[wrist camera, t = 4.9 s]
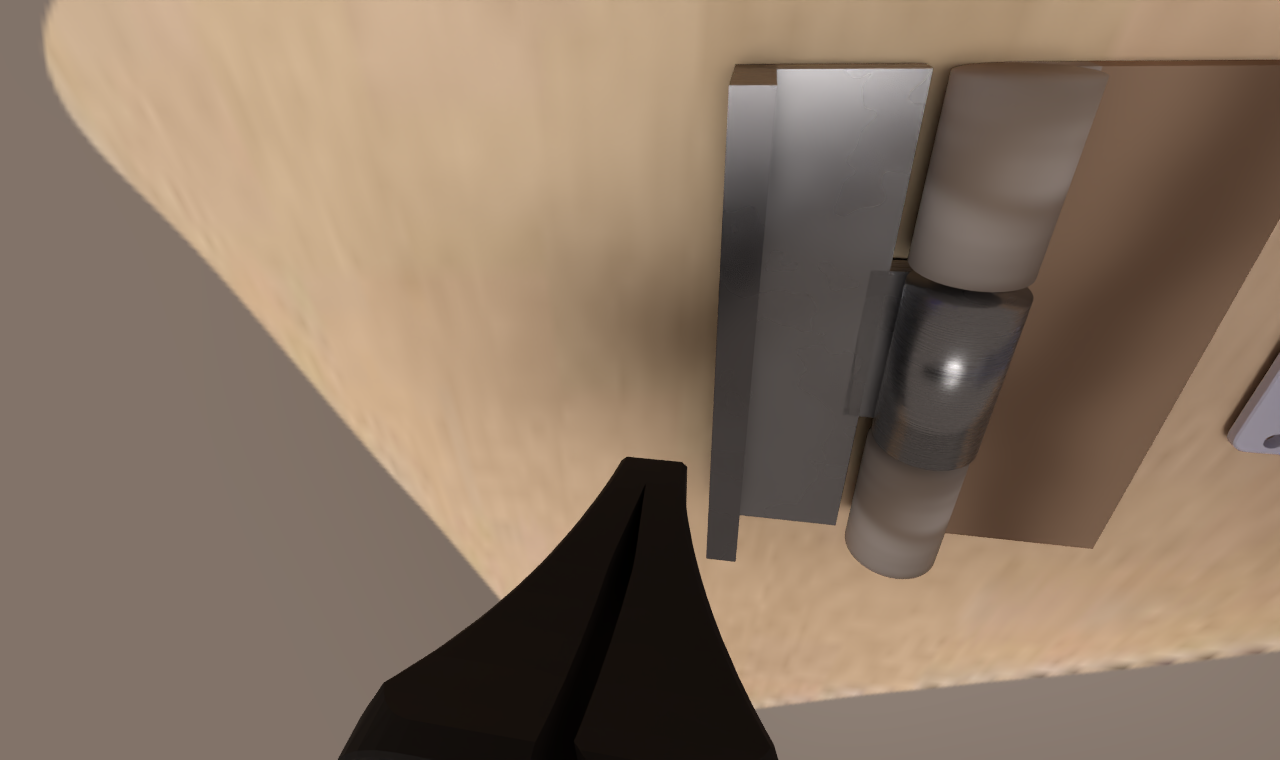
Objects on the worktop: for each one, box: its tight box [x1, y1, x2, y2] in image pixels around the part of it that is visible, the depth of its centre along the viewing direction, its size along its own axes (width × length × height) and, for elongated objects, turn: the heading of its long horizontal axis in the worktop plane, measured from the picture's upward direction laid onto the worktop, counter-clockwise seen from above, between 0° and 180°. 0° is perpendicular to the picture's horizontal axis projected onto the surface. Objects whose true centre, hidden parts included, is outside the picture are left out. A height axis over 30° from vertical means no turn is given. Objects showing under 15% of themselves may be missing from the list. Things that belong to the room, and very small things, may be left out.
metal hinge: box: [706, 63, 1033, 562], centre depth 18 cm, size 8×15×3 cm, turn 1°
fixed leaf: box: [845, 60, 1280, 579], centre depth 17 cm, size 8×15×3 cm, turn 1°
